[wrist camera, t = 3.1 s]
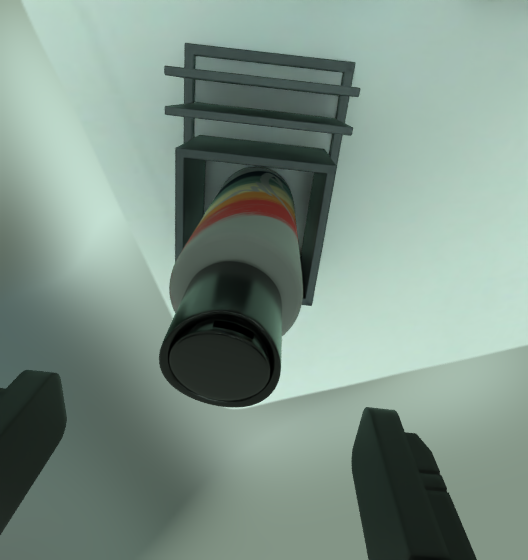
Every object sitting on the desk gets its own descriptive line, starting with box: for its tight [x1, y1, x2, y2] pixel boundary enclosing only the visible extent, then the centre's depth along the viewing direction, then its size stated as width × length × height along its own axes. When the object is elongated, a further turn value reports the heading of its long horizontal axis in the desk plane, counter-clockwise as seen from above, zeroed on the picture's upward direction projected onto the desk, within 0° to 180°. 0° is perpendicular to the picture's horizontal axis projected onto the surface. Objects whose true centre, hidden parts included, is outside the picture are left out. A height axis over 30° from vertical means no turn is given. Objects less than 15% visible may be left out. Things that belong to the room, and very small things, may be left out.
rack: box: [164, 43, 360, 306], centre depth 25 cm, size 14×11×8 cm
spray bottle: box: [159, 167, 303, 407], centre depth 21 cm, size 6×6×20 cm
